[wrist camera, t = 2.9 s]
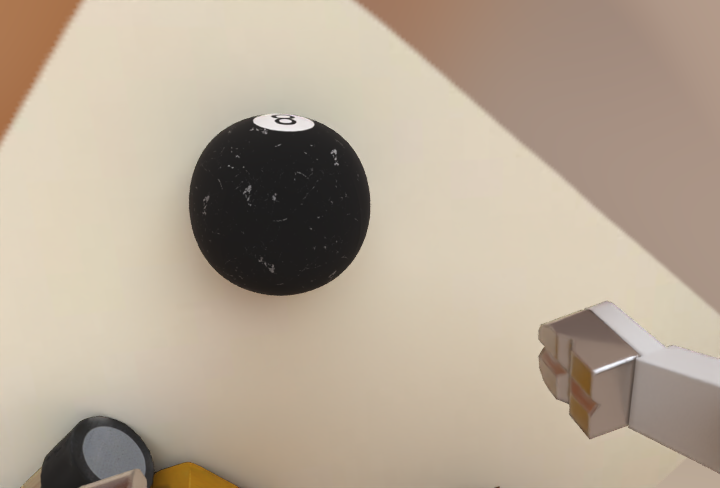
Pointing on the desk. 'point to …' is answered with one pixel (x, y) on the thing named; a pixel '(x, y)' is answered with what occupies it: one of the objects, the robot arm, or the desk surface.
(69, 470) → the toy roller
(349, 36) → the desk surface
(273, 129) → the billiard ball
